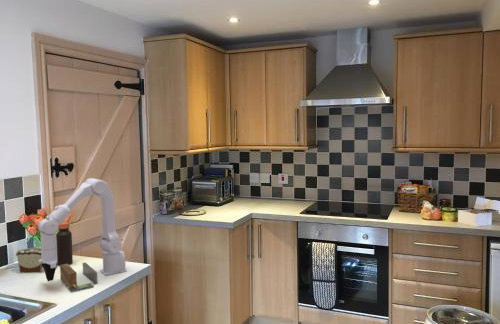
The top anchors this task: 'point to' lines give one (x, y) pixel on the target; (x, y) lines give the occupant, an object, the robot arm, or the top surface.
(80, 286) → the gauge frame
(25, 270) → the food container
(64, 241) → the bottle
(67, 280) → the brown wooden block
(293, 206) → the top surface
